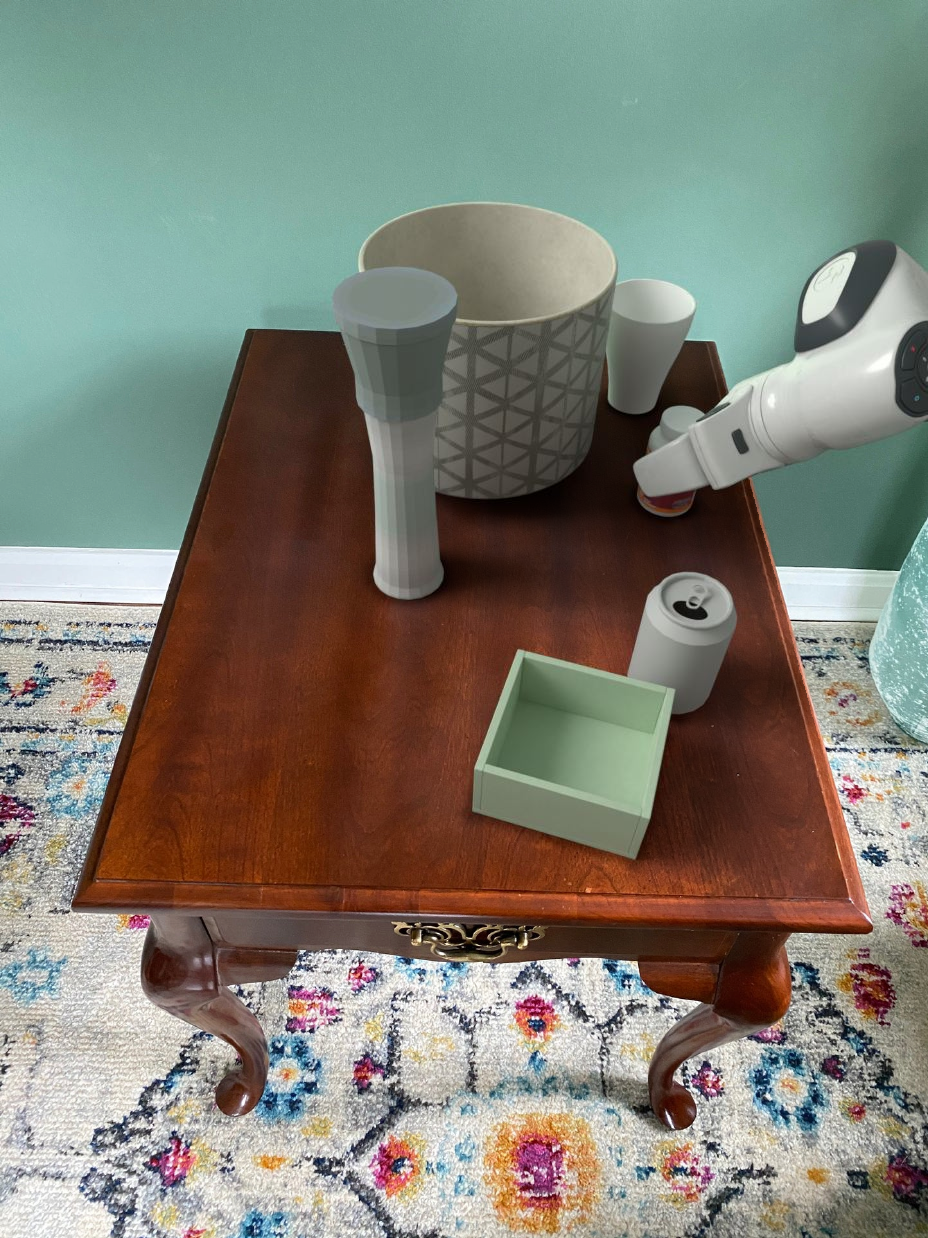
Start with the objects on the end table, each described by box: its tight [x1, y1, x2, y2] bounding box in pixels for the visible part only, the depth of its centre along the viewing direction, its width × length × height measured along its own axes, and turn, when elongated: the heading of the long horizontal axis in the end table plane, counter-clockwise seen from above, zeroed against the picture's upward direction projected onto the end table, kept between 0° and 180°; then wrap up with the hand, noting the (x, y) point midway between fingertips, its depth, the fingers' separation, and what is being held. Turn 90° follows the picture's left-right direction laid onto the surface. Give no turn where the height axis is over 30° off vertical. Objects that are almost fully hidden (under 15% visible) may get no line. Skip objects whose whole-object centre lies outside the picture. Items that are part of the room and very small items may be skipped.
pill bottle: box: [636, 405, 706, 518], centre depth 92 cm, size 6×6×11 cm
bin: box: [472, 648, 676, 860], centre depth 70 cm, size 13×12×7 cm
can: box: [626, 571, 738, 715], centre depth 74 cm, size 8×8×12 cm
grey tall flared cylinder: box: [331, 267, 458, 601], centre depth 76 cm, size 10×10×30 cm
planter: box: [358, 201, 619, 500], centre depth 92 cm, size 25×25×24 cm
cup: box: [605, 278, 697, 415], centre depth 103 cm, size 10×10×14 cm
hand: (669, 454), depth 91 cm, fingers closed on pill bottle, 6 cm apart
